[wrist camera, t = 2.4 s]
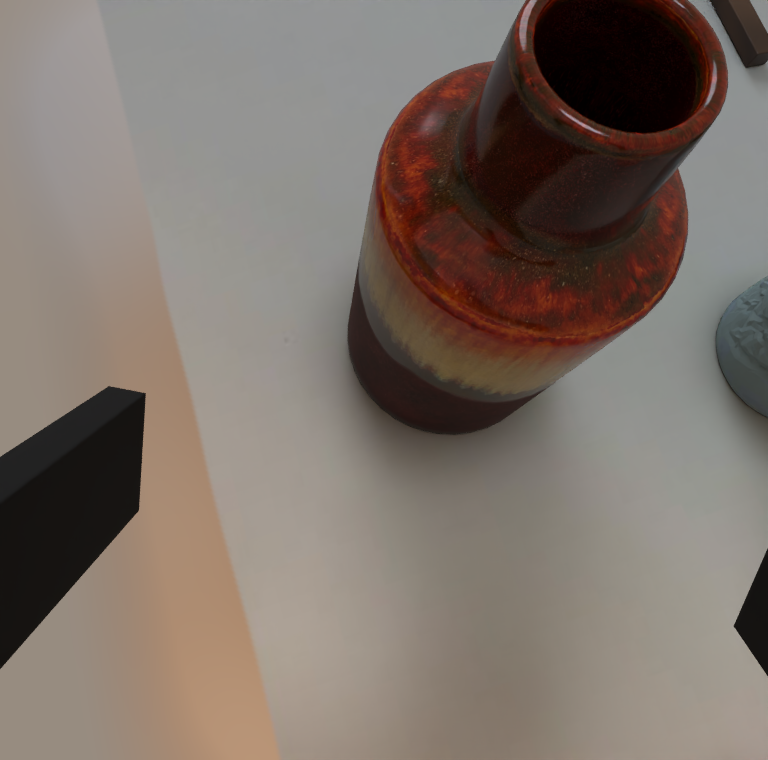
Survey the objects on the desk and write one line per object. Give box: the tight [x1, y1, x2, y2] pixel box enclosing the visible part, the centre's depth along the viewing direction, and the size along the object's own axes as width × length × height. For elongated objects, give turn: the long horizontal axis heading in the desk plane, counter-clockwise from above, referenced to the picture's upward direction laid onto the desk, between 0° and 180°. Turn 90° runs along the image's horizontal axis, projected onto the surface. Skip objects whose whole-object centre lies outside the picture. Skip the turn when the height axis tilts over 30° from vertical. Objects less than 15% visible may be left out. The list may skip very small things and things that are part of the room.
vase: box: [348, 0, 728, 435], centre depth 24 cm, size 11×11×20 cm
